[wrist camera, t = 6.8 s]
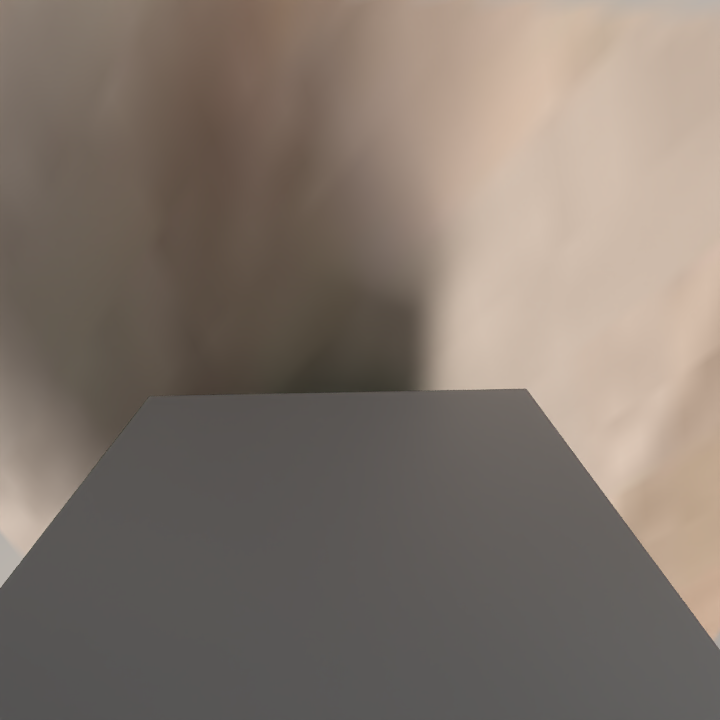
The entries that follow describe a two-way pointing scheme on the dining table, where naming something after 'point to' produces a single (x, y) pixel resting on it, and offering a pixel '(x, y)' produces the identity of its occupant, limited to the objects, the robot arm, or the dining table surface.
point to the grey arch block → (346, 573)
